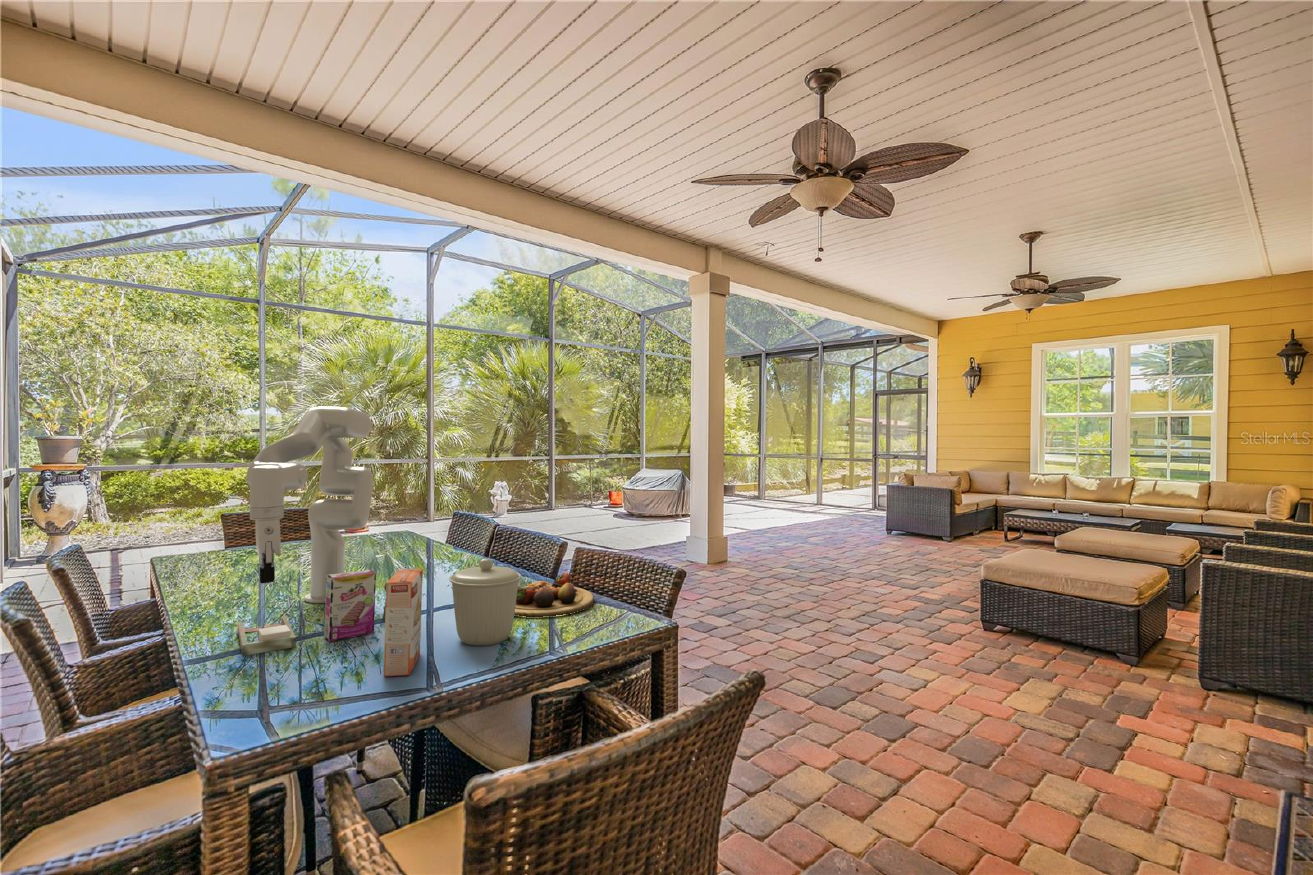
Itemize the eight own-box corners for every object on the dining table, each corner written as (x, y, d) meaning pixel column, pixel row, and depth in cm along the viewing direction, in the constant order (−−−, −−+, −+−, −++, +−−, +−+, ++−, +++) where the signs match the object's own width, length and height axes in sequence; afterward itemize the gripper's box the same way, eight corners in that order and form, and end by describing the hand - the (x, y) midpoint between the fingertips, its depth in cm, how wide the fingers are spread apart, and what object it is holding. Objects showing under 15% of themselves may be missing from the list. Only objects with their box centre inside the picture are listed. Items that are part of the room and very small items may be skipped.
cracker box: (411, 676, 134) (413, 581, 134) (382, 678, 133) (384, 582, 133) (422, 653, 148) (423, 567, 148) (395, 655, 147) (397, 568, 147)
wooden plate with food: (545, 587, 217) (545, 563, 216) (614, 601, 198) (614, 576, 198) (469, 608, 191) (469, 581, 191) (540, 627, 172) (540, 598, 172)
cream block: (285, 640, 156) (286, 624, 156) (290, 646, 152) (290, 630, 152) (258, 645, 152) (258, 629, 152) (261, 651, 148) (261, 635, 148)
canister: (496, 655, 148) (497, 568, 148) (433, 646, 153) (434, 562, 153) (532, 632, 165) (534, 555, 165) (474, 625, 171) (475, 550, 171)
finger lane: (285, 623, 170) (285, 614, 170) (295, 646, 151) (296, 636, 151) (237, 629, 163) (237, 620, 163) (242, 655, 145) (242, 645, 144)
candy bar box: (329, 642, 154) (331, 578, 154) (323, 638, 158) (324, 574, 158) (375, 633, 162) (376, 571, 162) (368, 629, 166) (369, 568, 166)
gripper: (286, 515, 156) (287, 586, 157) (280, 507, 168) (280, 573, 169) (251, 518, 152) (252, 591, 152) (248, 509, 164) (248, 577, 164)
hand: (267, 581), depth 161 cm, fingers closed
